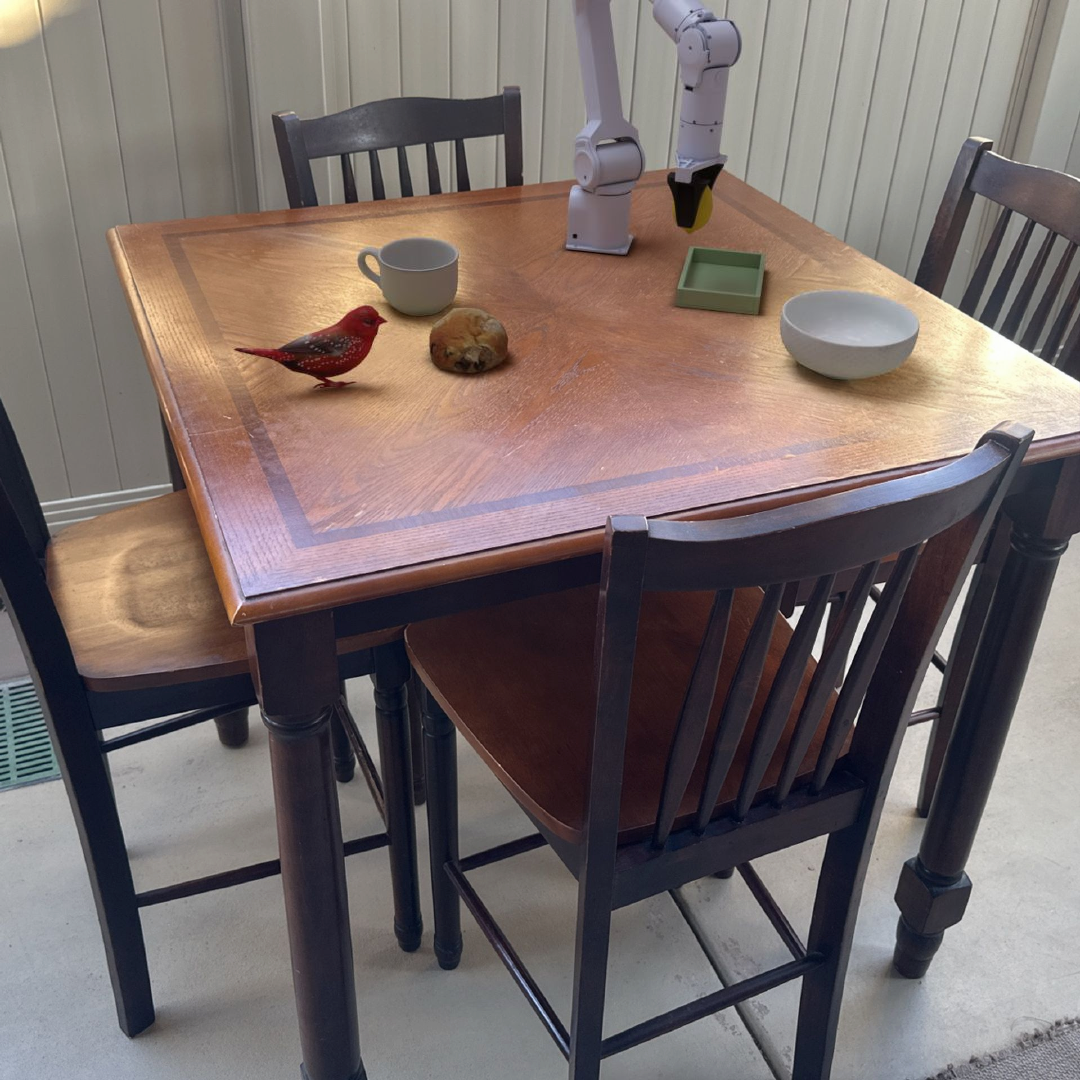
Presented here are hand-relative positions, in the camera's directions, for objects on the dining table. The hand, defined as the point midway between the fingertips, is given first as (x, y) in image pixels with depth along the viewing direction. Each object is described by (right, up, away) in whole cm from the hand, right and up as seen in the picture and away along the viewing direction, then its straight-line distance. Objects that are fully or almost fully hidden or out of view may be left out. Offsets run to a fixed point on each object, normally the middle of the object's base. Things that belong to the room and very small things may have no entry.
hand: (690, 220), depth 158 cm
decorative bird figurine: (-47, -27, -24) cm, 60 cm away
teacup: (-39, -13, -3) cm, 41 cm away
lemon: (0, -2, +1) cm, 2 cm away
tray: (+5, -8, +6) cm, 11 cm away
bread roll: (-30, -22, -16) cm, 40 cm away
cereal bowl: (+17, -23, -15) cm, 32 cm away
